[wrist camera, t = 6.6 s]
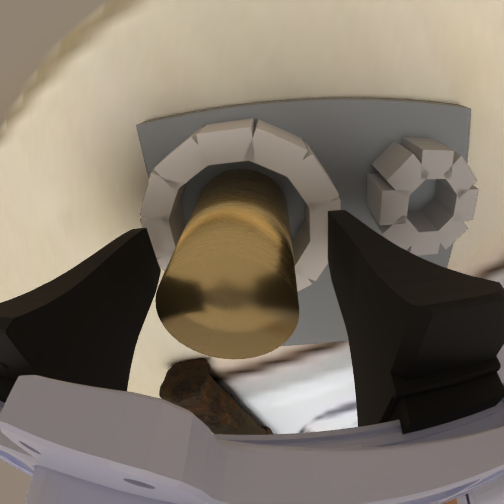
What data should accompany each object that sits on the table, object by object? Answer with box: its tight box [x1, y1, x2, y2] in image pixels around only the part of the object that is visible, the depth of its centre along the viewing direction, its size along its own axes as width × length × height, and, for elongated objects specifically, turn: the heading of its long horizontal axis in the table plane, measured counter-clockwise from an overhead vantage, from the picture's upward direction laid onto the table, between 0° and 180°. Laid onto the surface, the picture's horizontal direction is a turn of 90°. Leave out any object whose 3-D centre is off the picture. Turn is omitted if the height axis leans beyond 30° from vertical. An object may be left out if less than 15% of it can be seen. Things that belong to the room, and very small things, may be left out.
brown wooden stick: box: [159, 358, 273, 435], centre depth 25 cm, size 19×4×5 cm, turn 22°
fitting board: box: [137, 98, 478, 346], centre depth 14 cm, size 15×14×3 cm
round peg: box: [156, 168, 299, 359], centre depth 11 cm, size 4×4×6 cm
